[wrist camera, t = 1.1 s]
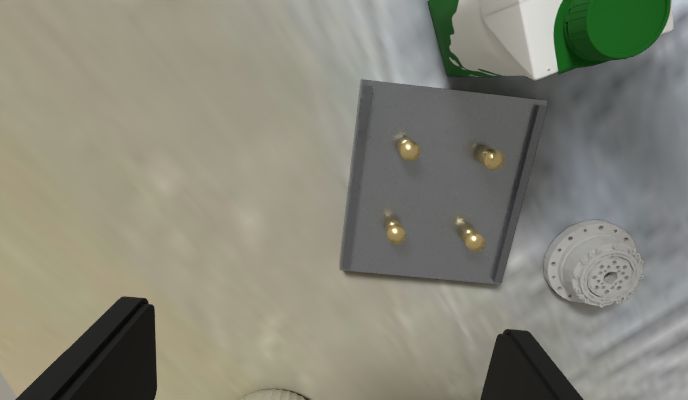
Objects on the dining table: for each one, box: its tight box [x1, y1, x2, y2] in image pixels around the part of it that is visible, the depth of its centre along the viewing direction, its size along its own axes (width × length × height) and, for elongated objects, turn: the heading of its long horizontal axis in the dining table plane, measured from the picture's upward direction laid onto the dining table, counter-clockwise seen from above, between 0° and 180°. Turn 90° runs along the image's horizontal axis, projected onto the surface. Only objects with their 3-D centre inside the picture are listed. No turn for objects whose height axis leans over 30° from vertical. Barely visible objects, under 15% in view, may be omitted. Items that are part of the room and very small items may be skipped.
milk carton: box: [428, 0, 673, 81], centre depth 27 cm, size 9×9×20 cm
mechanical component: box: [543, 220, 644, 308], centre depth 42 cm, size 10×4×10 cm
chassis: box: [340, 80, 547, 284], centre depth 39 cm, size 20×18×5 cm
